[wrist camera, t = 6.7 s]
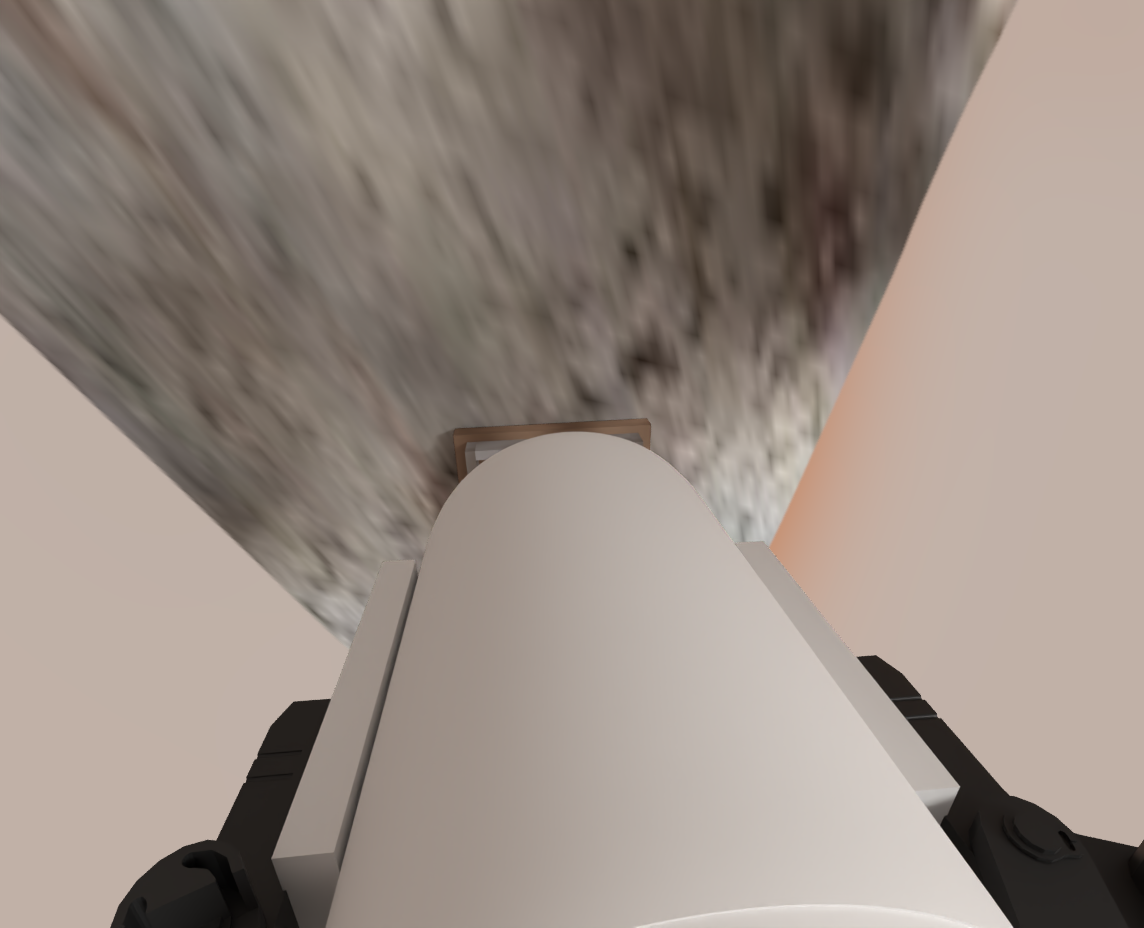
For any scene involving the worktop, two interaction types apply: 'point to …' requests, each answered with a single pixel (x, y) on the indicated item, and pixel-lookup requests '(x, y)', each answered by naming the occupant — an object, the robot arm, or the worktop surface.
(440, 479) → the worktop surface
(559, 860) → the pill bottle
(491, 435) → the compartment tray
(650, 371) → the worktop surface
